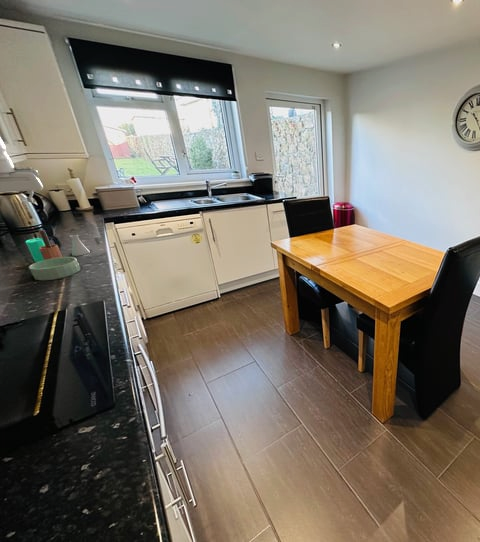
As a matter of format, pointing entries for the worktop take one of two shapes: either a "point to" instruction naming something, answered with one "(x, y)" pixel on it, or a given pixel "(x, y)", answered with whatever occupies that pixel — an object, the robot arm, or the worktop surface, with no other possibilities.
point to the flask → (78, 246)
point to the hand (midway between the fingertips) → (14, 202)
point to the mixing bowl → (54, 268)
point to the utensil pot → (50, 252)
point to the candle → (35, 248)
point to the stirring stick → (45, 238)
